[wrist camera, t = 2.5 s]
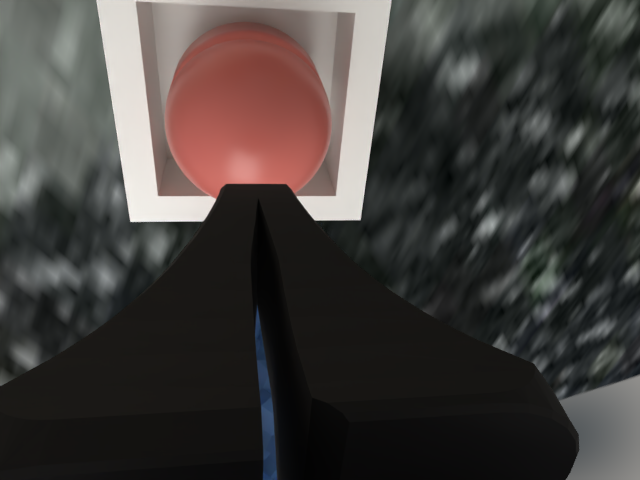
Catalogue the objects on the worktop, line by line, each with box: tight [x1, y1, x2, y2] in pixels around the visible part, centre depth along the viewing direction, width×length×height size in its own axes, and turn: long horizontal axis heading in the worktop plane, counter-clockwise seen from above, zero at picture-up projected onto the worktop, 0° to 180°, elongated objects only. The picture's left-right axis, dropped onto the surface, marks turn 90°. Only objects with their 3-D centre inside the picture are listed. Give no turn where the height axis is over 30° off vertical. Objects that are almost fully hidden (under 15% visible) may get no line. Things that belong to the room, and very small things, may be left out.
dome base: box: [97, 0, 392, 222], centre depth 17 cm, size 8×8×3 cm
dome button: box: [164, 22, 332, 199], centre depth 15 cm, size 5×5×5 cm
